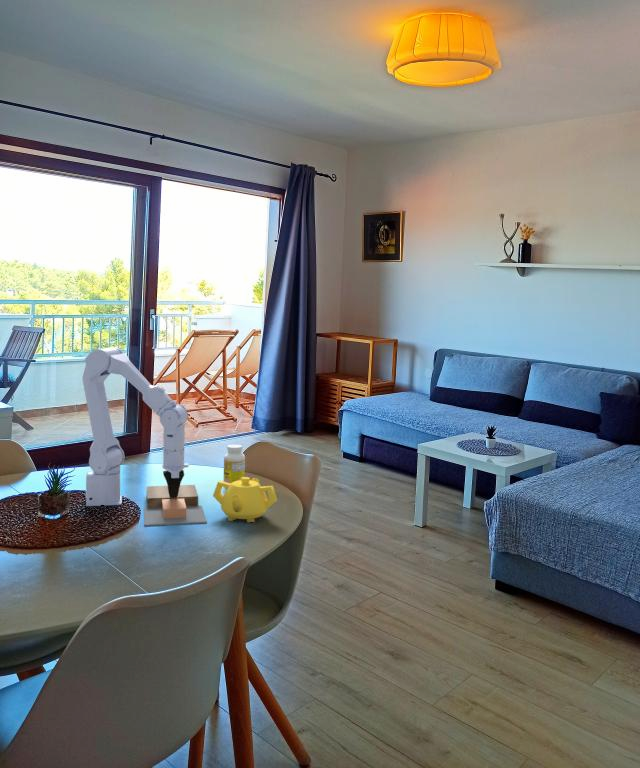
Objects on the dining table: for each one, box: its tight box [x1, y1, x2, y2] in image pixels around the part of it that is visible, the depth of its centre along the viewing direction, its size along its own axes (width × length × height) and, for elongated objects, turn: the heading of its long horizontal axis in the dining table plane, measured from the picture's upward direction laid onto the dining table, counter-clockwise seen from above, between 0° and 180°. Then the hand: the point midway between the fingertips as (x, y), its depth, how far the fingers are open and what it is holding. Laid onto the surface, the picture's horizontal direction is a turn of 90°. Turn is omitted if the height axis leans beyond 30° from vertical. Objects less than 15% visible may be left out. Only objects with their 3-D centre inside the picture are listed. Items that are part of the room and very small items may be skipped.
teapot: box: [212, 476, 278, 523], centre depth 188 cm, size 20×18×11 cm
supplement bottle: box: [223, 444, 246, 483], centre depth 218 cm, size 7×7×13 cm
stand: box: [146, 484, 199, 508], centre depth 200 cm, size 14×12×3 cm
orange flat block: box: [162, 499, 186, 519], centre depth 189 cm, size 6×9×2 cm, turn 15°
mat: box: [143, 505, 208, 527], centre depth 188 cm, size 16×14×1 cm
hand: (173, 496), depth 193 cm, fingers closed
